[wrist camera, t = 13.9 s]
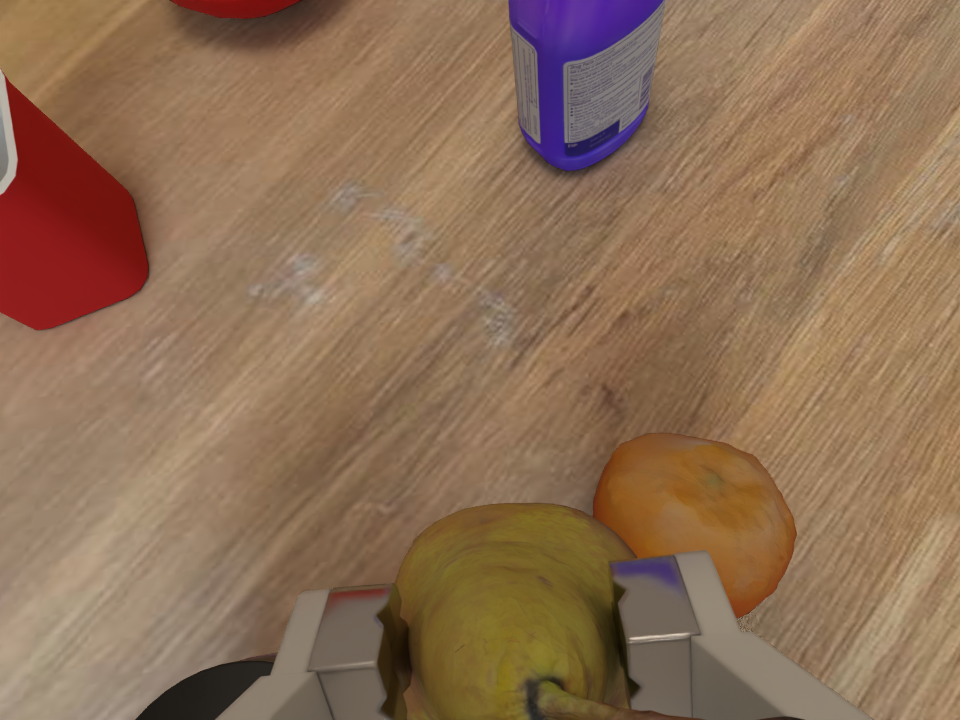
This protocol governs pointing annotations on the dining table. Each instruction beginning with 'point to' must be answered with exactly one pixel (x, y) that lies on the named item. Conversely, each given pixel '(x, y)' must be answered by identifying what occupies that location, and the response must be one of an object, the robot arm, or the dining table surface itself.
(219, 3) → the tomato
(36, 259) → the mug
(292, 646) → the robot arm
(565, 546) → the fruit
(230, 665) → the jar lid
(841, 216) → the dining table surface
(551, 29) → the bottle
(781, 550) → the fruit
